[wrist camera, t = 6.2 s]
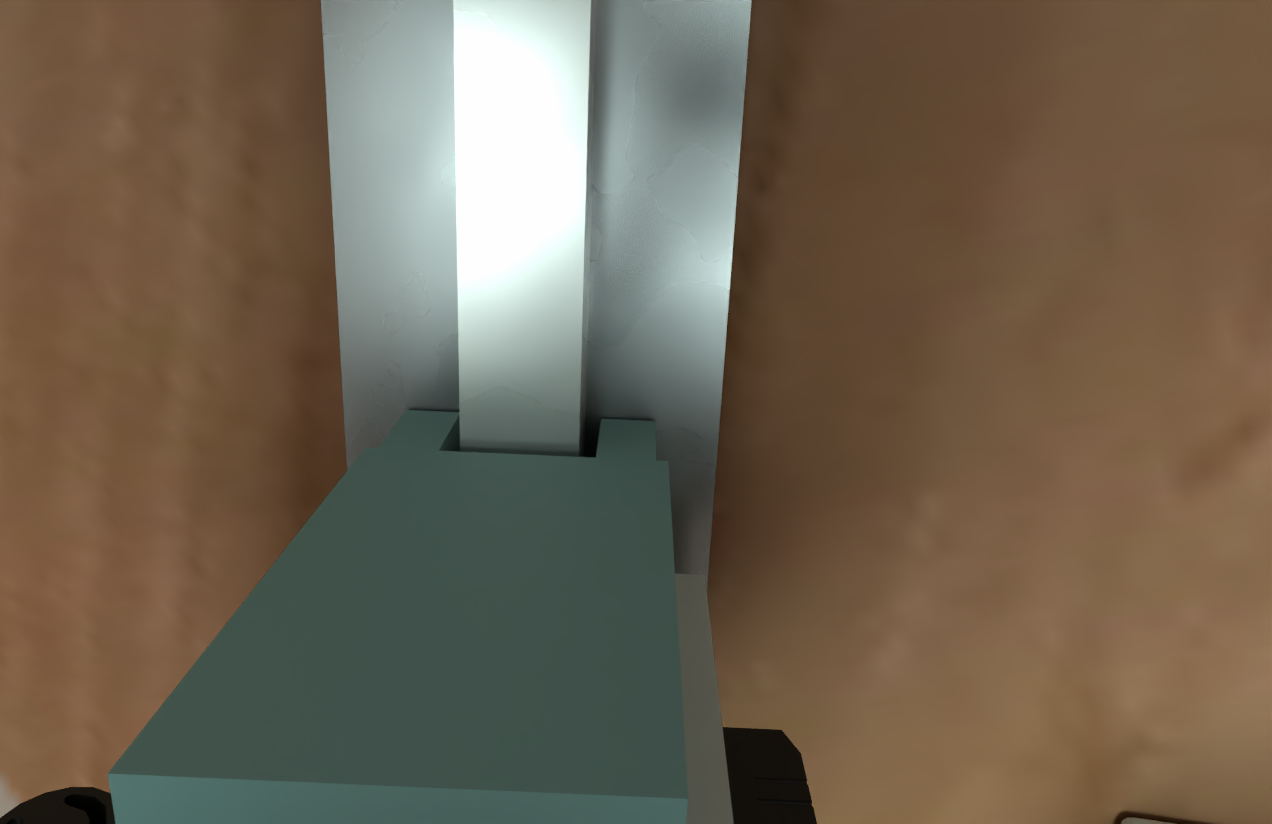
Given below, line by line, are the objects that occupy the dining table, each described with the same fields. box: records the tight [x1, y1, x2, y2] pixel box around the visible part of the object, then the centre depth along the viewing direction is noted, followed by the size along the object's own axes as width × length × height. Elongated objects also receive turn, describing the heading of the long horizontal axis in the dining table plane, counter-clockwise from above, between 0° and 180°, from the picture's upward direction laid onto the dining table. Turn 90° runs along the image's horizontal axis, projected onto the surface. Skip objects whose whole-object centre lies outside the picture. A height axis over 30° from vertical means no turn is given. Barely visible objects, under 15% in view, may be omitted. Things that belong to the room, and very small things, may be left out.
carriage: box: [108, 410, 688, 824], centre depth 14 cm, size 7×5×10 cm
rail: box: [321, 0, 752, 590], centre depth 16 cm, size 22×7×4 cm, turn 177°
